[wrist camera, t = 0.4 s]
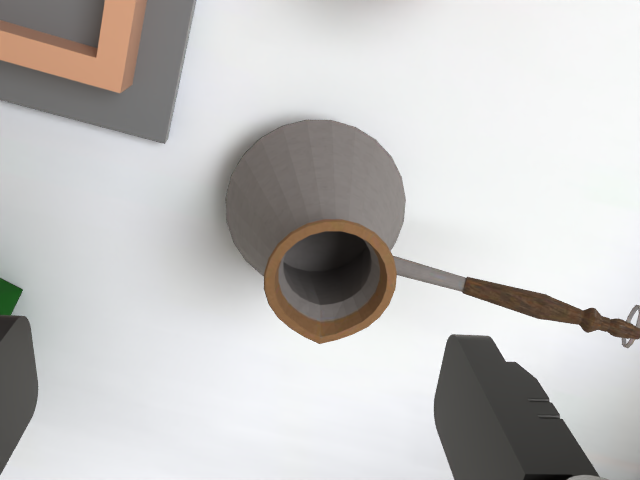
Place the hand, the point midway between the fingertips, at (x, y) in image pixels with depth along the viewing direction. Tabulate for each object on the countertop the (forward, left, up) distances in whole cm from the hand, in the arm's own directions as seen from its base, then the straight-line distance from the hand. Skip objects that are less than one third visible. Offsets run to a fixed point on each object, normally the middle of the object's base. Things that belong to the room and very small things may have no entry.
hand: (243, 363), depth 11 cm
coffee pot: (+4, +10, -28) cm, 30 cm away
